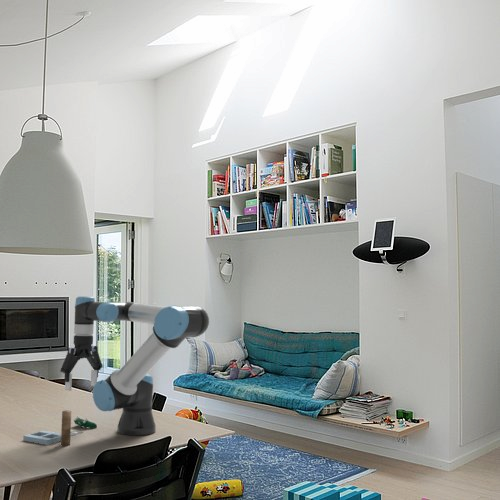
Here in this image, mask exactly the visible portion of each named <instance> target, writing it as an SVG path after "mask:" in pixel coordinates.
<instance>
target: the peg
mask: <svg viewBox="0 0 500 500" xmlns="http://www.w3.org/2000/svg"><path fill="white" fill-rule="evenodd" d="M71 428H72V410H62V411H61V441H60V446H61V445H62V446H61V447H67V446H68V445H69V446H71V436H70V433H71V432H72V429H71Z"/></svg>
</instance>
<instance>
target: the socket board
mask: <svg viewBox="0 0 500 500" xmlns="http://www.w3.org/2000/svg"><path fill="white" fill-rule="evenodd" d="M22 437H23V440H22V441H23V442H29V443H33V442H34V443H35V444H38V443H39V444H38V445H43V444H45V445H44V446H49V445H48V444H50V445H52V444H51V443H53V444H56V443H55V442H57V443H60V442H61V433H60V432H56V431H48V430H40V431H37V432H33V433H29V434H25V435H23V436H22ZM59 441H60V442H59Z"/></svg>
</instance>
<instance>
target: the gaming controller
mask: <svg viewBox="0 0 500 500" xmlns="http://www.w3.org/2000/svg"><path fill="white" fill-rule="evenodd" d="M73 422H74V424H76V425H77V426H78V428H83V429H87V428H88V429H96V428H97V427H98V426H97V424H96V423H95V422H93V421H89V420H88V418H87V417H86V418H83V419H82V418H80V416H78V415H77V416H75V418H74V420H73Z"/></svg>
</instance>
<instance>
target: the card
mask: <svg viewBox="0 0 500 500" xmlns="http://www.w3.org/2000/svg"><path fill="white" fill-rule="evenodd" d="M83 432H84V431H79V430H73V431H72V430H71V433H70V437H72V435H73V436H76V434H77V435H80V434H83ZM79 433H80V434H79Z"/></svg>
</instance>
